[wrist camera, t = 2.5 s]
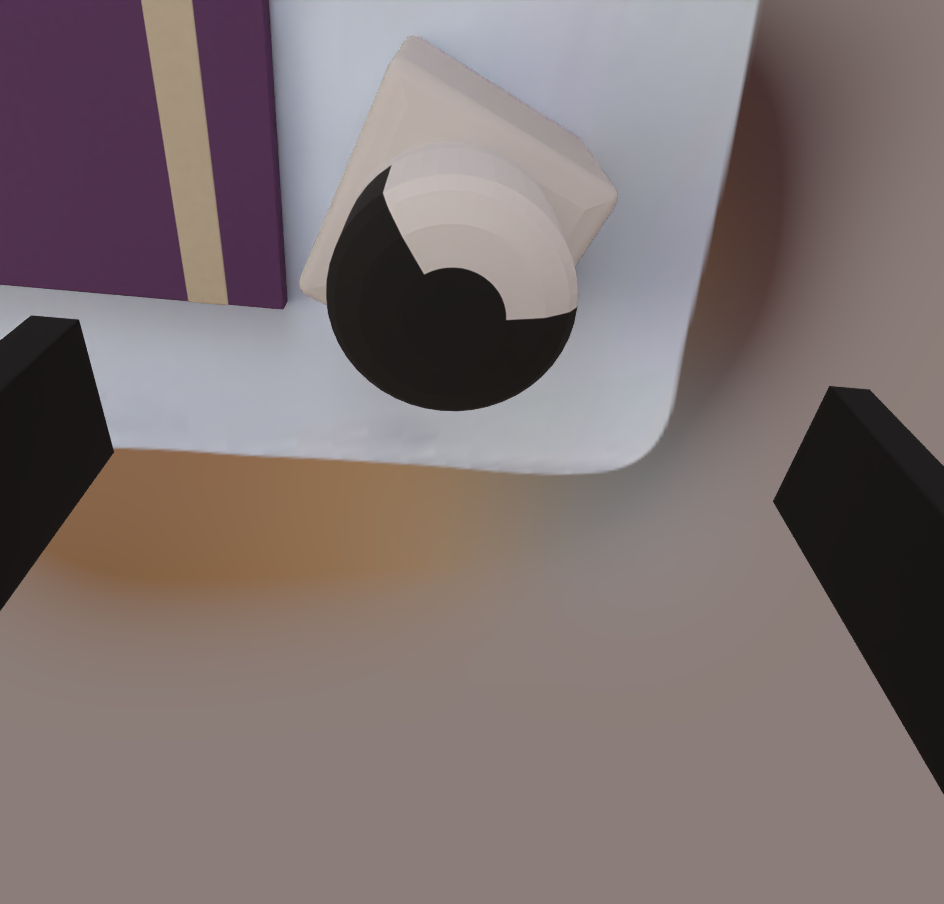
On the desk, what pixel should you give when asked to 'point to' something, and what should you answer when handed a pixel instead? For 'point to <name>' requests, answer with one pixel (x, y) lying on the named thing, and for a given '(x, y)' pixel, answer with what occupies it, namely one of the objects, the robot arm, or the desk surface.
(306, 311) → the desk surface
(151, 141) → the towel
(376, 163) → the medicine bottle
